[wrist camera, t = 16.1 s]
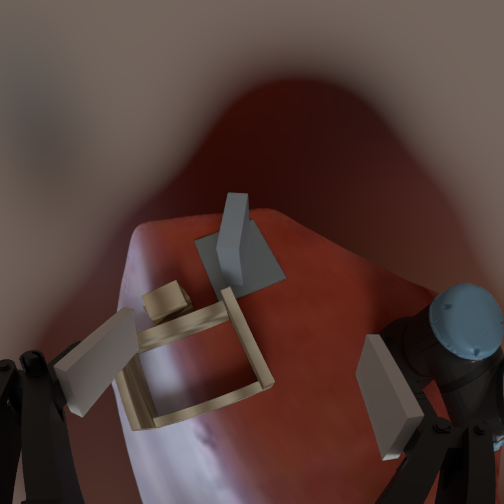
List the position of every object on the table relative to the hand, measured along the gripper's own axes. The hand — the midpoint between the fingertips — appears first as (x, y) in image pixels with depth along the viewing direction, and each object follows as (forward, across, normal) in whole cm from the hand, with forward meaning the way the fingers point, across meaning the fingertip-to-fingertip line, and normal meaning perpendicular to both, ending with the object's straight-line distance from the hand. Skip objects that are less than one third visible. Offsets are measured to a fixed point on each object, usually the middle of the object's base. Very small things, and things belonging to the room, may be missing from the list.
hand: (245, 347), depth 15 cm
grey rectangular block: (+43, -6, -6) cm, 44 cm away
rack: (+27, -11, -24) cm, 37 cm away
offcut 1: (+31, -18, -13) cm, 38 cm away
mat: (+44, -6, -7) cm, 45 cm away
